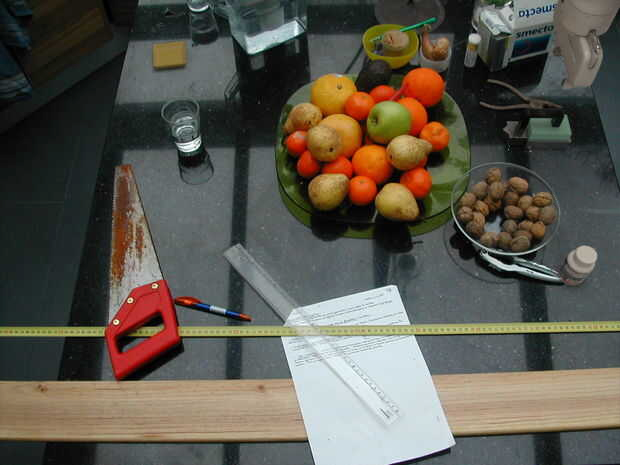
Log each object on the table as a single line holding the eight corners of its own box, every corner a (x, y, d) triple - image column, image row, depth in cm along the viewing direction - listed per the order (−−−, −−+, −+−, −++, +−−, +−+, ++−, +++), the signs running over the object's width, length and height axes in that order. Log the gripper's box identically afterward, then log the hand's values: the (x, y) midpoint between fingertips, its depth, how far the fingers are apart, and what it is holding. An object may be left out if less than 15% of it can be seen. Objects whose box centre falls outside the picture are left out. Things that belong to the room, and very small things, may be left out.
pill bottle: (570, 258, 119) (586, 237, 111) (588, 277, 117) (607, 257, 109) (551, 271, 118) (567, 250, 110) (570, 290, 115) (587, 270, 108)
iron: (561, 127, 137) (576, 99, 129) (566, 149, 134) (582, 122, 125) (497, 126, 138) (508, 98, 130) (501, 148, 134) (513, 121, 126)
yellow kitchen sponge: (186, 46, 155) (185, 40, 153) (187, 68, 150) (186, 62, 149) (155, 50, 154) (153, 44, 152) (155, 72, 150) (153, 66, 148)
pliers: (481, 77, 145) (562, 87, 142) (480, 80, 146) (560, 89, 143) (479, 105, 140) (563, 115, 138) (479, 108, 141) (561, 118, 138)
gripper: (619, 53, 99) (587, 108, 111) (593, -21, 109) (567, 36, 121) (582, 52, 99) (555, 107, 111) (560, -21, 109) (537, 36, 121)
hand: (561, 70), depth 116 cm, fingers open, 8 cm apart
